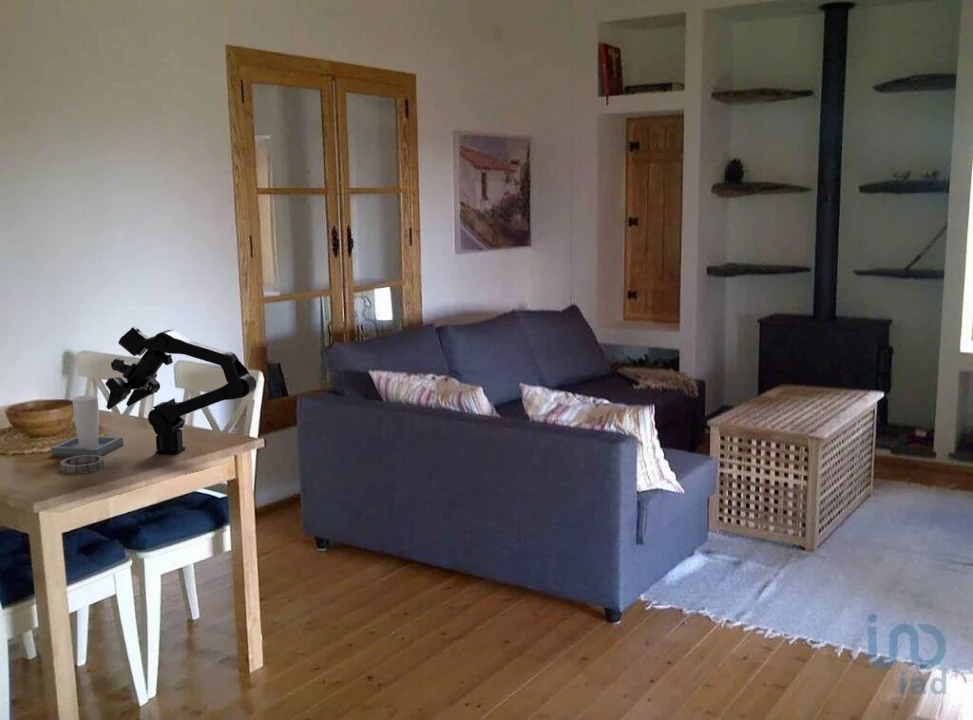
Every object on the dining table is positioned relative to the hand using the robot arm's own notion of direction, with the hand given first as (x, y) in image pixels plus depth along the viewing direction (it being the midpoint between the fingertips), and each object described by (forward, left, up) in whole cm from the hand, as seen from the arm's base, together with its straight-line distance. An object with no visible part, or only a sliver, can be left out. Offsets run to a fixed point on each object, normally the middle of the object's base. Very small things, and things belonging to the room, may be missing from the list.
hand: (117, 406), depth 274 cm
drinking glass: (+9, +2, -12) cm, 15 cm away
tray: (+9, +2, -13) cm, 16 cm away
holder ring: (+1, +18, -13) cm, 22 cm away
